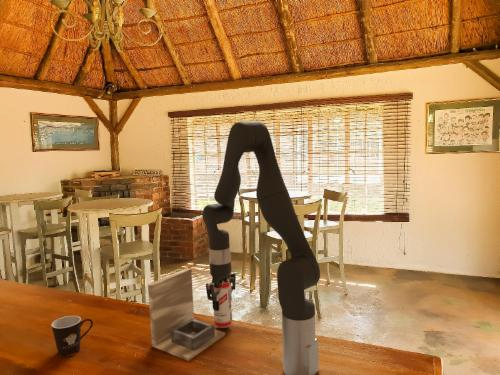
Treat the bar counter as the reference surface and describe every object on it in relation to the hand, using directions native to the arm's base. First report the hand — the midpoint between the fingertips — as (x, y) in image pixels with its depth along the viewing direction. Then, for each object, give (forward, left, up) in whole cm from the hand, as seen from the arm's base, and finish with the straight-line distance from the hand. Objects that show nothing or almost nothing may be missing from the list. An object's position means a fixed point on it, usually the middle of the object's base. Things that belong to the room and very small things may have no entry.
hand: (222, 306), depth 138 cm
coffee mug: (+32, +37, -8) cm, 50 cm away
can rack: (+4, +13, -8) cm, 16 cm away
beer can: (0, 0, -7) cm, 7 cm away
